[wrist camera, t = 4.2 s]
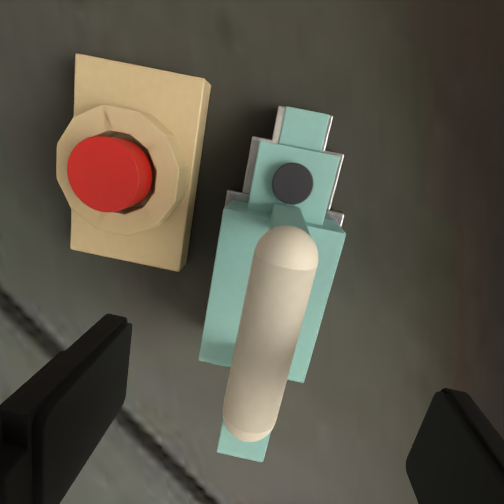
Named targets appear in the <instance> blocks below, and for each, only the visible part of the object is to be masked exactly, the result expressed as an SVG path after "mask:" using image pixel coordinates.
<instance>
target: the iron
mask: <svg viewBox="0 0 504 504" xmlns="http://www.w3.org/2000/svg"><path fill="white" fill-rule="evenodd" d="M332 119H333V116H332V115H328V114H324V113H319V112H314V111H309V110H304V109H299V108H294V107H288V106H281V105H279V106H278V110H277V116H276V121H275V126H274V131H273V136H272V140H271V139H266V138H261V137H256V136H252V140H251V146H250V151H249V157H248V162H247V168H246V173H245V179H244V185H243V190H242V191H241V190H236V189H231V188H230V189H228V190H227V193H226V199H225V205H224V209H223V214H222V220H221V226H220V232H219V238H218V244H217V250H216V256H215V262H214V268H213V274H212V280H211V286H210V292H209V298H208V304H207V310H206V316H205V322H204V328H203V334H202V341H201V347H200V353H199V359H198V360H199V361H203V362H208V363H212V364H217V365H222V366H226V367H231V369H230V374H229V379H228V384H227V388H226V393H225V398H224V403H223V420H222V425H221V430H220V435H219V440H218V445H217V450H216V451H217V452H218V453H222V454H227V455H231V456H236V457H240V458H245V459H250V460H254V461H259V462H263V460H264V456H265V452H266V448H267V444H268V441H269V437H270V433H271V430H272V429H273V427H274V425H275V422H276V419H277V416H278V412H279V408H280V404H281V401H282V397H283V393H284V389H285V386H286V382H287V380H292V381H297V382H301V383H304V380H305V376H306V373H307V369H308V366H309V362H310V359H311V355H312V352H313V348H314V345H315V341H316V338H317V334H318V331H319V327H320V324H321V320H322V317H323V313H324V310H325V306H326V303H327V299H328V296H329V292H330V289H331V285H332V282H333V278H334V275H335V271H336V268H337V264H338V261H339V257H340V254H341V250H342V247H343V243H344V240H345V236H346V233H345V232H344V231H343V230H342V228H341V225H342V222H343V218H344V213H343V212H342V211H339V210H334V209H330V207H331V203H332V200H333V196H334V192H335V188H336V185H337V181H338V177H339V173H340V169H341V166H342V162H343V158H344V154H341V153H336V152H331V151H326V150H325V148H326V144H327V140H328V136H329V132H330V128H331V124H332Z"/></svg>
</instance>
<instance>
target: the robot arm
mask: <svg viewBox="0 0 504 504" xmlns="http://www.w3.org/2000/svg"><path fill="white" fill-rule="evenodd" d="M131 334H132V324H131V323H127V318H126V317H121V316H117V315H112V314H106V315H105V316H104V317H102V318H101V319H100V320H99V321H98V322H97V323H96V324H95V325H94V326H92V327H91V328H90V329H89V330H88V331H87V332H86V333H85V334H84V335H82V336H81V337H80V338H79V339H78V340H77V341H76V342H75V343H74V344H72V345H71V346H70V347H69V348H68V349H67V350H65V351H62V352H60V353H59V354H57V355H56V356H55V357H54V358H53V359H52V360H51V361H49V362H48V363H47V364H46V365H45V366H44V367H43V368H42V369H40V370H39V371H38V372H37V373H36V374H35V375H34V376H32V377H31V378H30V379H29V380H28V381H27V382H26V383H25V384H23V385H22V386H21V387H20V388H19V389H18V390H17V391H15V392H14V393H13V394H12V395H11V396H10V397H9V398H8V399H6V400H5V401H4V402H3V403H2V404H1V405H0V504H60V502H61V501H62V499H63V497H64V496H65V494H66V493H67V491H68V490H69V488H70V487H71V485H72V483H73V482H74V480H75V479H76V477H77V476H78V474H79V473H80V471H81V469H82V468H83V466H84V465H85V463H86V462H87V460H88V459H89V457H90V455H91V454H92V452H93V451H94V449H95V448H96V446H97V445H98V443H99V441H100V440H101V438H102V437H103V435H104V434H105V432H106V430H107V429H108V427H109V426H110V424H111V423H112V421H113V420H114V418H115V416H116V415H117V413H118V412H119V410H120V409H121V407H122V405H123V403H124V400H125V396H126V387H127V376H128V366H129V355H130V344H131ZM406 471H407V475H408V477H409V480H410V482H411V485H412V488H413V490H414V493H415V495H416V498H417V500H418V503H419V504H504V440H503V439H502V437H501V436H500V435H499V433H498V432H497V431H496V429H495V428H494V427H493V426H492V424H491V423H490V422H489V420H488V419H487V418H486V417H485V415H484V414H483V413H482V411H481V410H480V409H479V407H478V406H477V405H476V404H475V402H474V401H473V400H472V398H471V397H470V396H469V395H468V394H467V393H465V392H462V391H457V390H452V389H448V388H444V389H442V390H441V391H440V392H436V393H435V395H434V397H433V399H432V401H431V404H430V406H429V408H428V411H427V413H426V415H425V418H424V420H423V422H422V425H421V427H420V429H419V431H418V434H417V436H416V438H415V441H414V443H413V445H412V448H411V450H410V452H409V455H408V457H407V460H406Z"/></svg>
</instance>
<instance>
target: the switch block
mask: <svg viewBox="0 0 504 504" xmlns="http://www.w3.org/2000/svg"><path fill="white" fill-rule="evenodd" d="M210 89H211V85H210V84H209V83H208V82H207V81H206V80H205V79H204V78H200V77H195V76H190V75H185V74H179V73H174V72H169V71H164V70H159V69H154V68H149V67H144V66H139V65H134V64H129V63H124V62H118V61H113V60H108V59H103V58H98V57H93V56H88V55H83V54H78V53H77V54H75V86H74V117H73V119H72V120H71V122H70V124H69V125H68V127H67V128H66V130H65V132H64V133H63V135H62V137H61V138H60V140H59V141H58V143H57V165H56V177H57V180H58V183H59V185H60V187H61V189H62V191H63V193H64V195H65V197H66V199H67V201H68V203H69V205H70V207H71V249H72V250H77V251H82V252H87V253H91V254H96V255H101V256H106V257H111V258H115V259H120V260H125V261H130V262H134V263H139V264H144V265H149V266H154V267H158V268H163V269H168V270H173V271H178V272H179V271H180V270H181V269H182V268H183V266H184V265H185V264H186V262H187V255H188V248H189V241H190V233H191V226H192V219H193V212H194V204H195V197H196V190H197V183H198V175H199V168H200V161H201V154H202V147H203V139H204V132H205V125H206V118H207V110H208V103H209V96H210ZM93 136H107V137H118V138H123V139H126V140H129V141H131V142H133V143H134V144H136V145H137V146H138V147H139V148H140V149H141V150H142V151H143V152H144V154H145V155H146V157H147V158H148V161H149V163H150V166H151V170H152V183H151V187H150V190H149V192H148V194H147V195H146V197H145V198H144V199H143V200H142V201H141V202H139V203H138V204H136V205H134V206H131V207H128V208H126V209H123V210H120V211H117V212H111V213H107V212H100V211H97V210H94V209H92V208H90V207H88V206H87V205H86V204H84V203H83V202H82V201H81V200H80V199H79V198H78V197H77V196H76V194H75V193H74V191H73V190H72V188H71V185H70V183H69V180H68V174H67V163H68V159H69V156H70V154H71V152H72V150H73V149H74V147H75V146H76V145H77V144H78V143H79V142H81V141H82V140H84V139H86V138H89V137H93Z"/></svg>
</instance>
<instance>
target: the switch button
mask: <svg viewBox="0 0 504 504" xmlns="http://www.w3.org/2000/svg"><path fill="white" fill-rule="evenodd" d="M67 174H68V180H69V183H70V185H71V188H72V190H73V191H74V193H75V194H76V196H77V197H78V198H79V199H80V200H81V201H82V202H83V203H84V204H86V205H87V206H88V207H90V208H92V209H94V210H97V211H100V212H107V213H111V212H117V211H120V210H123V209H126V208H128V207H131V206H134V205H136V204H138V203H139V202H141V201H142V200H143V199H144V198H145V197H146V195H147V194H148V192H149V190H150V187H151V183H152V170H151V166H150V163H149V161H148V158H147V157H146V155H145V154H144V152H143V151H142V150H141V149H140V148H139V147H138V146H137V145H136V144H134V143H133V142H131V141H129V140H126V139H123V138H118V137H107V136H93V137H89V138H86V139H84V140H82V141H81V142H79V143H78V144H77V145H76V146H75V147H74V149H73V150H72V152H71V154H70V156H69V159H68V163H67Z"/></svg>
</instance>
